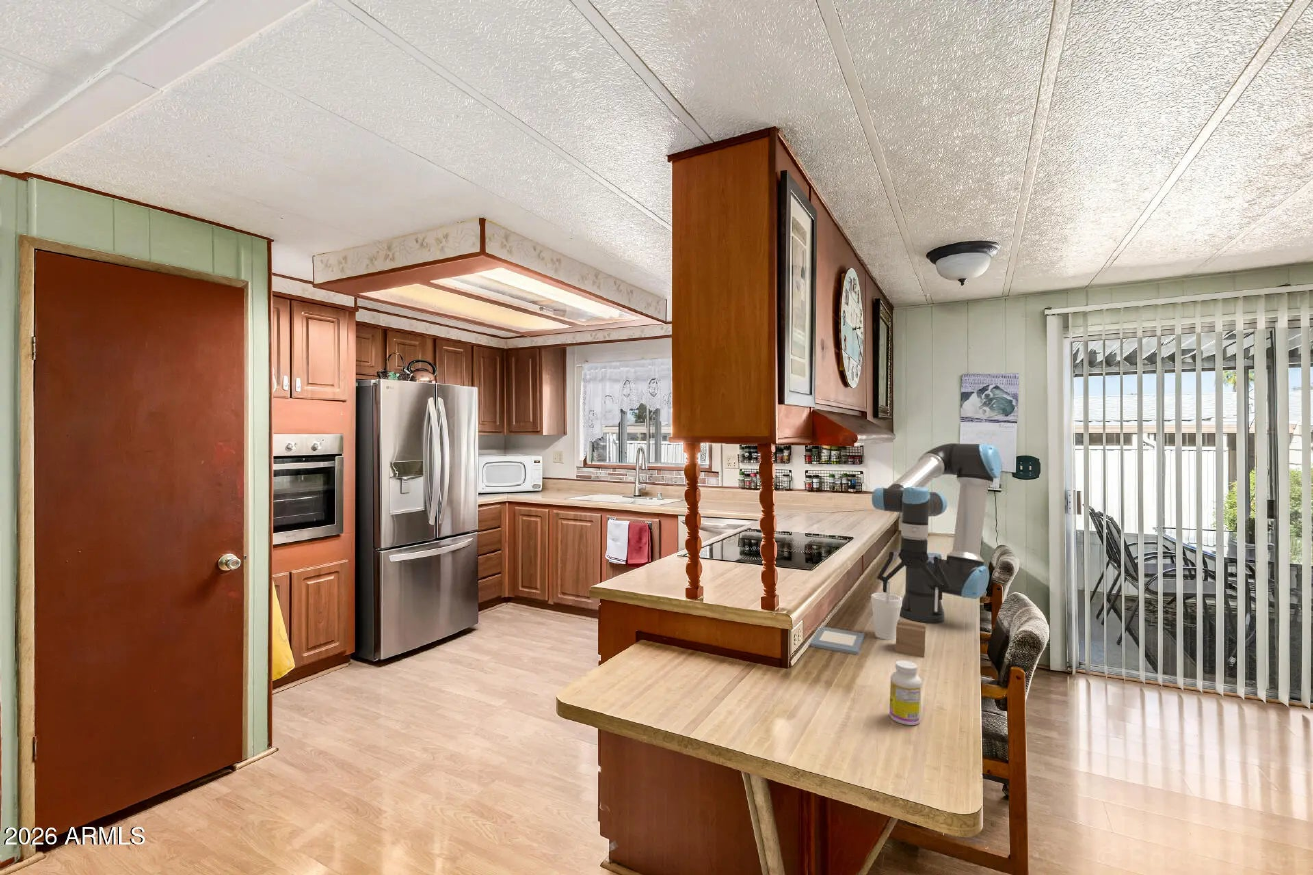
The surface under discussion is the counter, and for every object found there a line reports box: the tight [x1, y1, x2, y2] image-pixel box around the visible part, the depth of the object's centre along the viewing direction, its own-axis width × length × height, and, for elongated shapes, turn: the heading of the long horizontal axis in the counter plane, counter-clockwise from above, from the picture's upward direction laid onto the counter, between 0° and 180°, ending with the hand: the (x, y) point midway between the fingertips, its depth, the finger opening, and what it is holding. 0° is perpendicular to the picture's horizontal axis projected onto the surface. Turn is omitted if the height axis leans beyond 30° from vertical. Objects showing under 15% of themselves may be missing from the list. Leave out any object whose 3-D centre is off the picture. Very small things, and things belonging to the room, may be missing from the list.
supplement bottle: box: [889, 660, 923, 726], centre depth 138 cm, size 7×7×13 cm
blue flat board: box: [809, 626, 866, 655], centre depth 189 cm, size 18×14×1 cm
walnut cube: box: [895, 618, 927, 658], centre depth 182 cm, size 8×8×8 cm
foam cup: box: [870, 592, 903, 641], centre depth 195 cm, size 10×9×13 cm
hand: (911, 606), depth 182 cm, fingers open, 13 cm apart
